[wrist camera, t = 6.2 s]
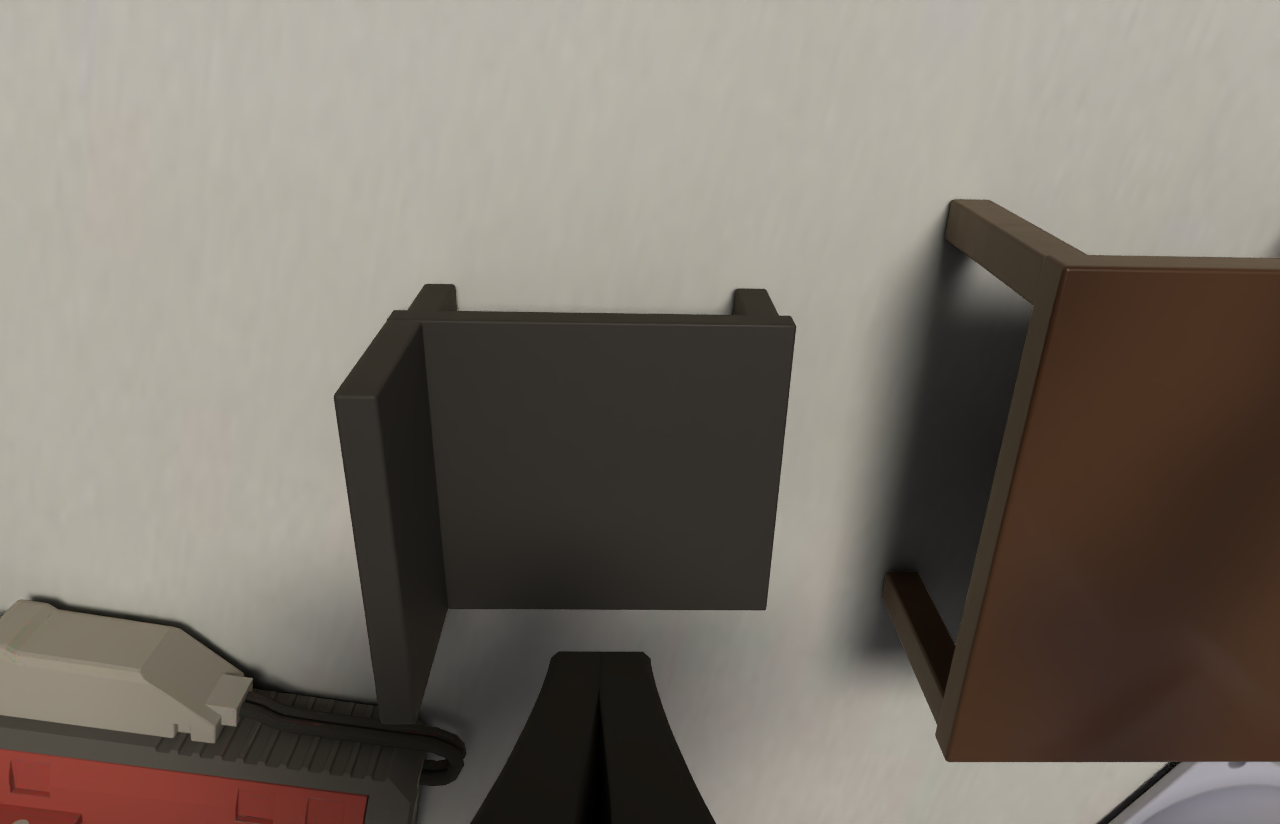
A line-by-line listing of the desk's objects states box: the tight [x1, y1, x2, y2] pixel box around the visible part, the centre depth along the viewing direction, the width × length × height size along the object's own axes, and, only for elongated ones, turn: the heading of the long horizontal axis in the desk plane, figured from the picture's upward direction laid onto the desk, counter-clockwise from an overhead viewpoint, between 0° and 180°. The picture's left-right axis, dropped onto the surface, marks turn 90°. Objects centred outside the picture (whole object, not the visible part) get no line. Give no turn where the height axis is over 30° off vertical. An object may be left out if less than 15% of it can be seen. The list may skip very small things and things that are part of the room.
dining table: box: [882, 199, 1280, 762], centre depth 19 cm, size 9×11×6 cm
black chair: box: [334, 284, 796, 724], centre depth 18 cm, size 8×7×6 cm
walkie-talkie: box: [0, 600, 466, 824], centre depth 23 cm, size 9×4×20 cm
